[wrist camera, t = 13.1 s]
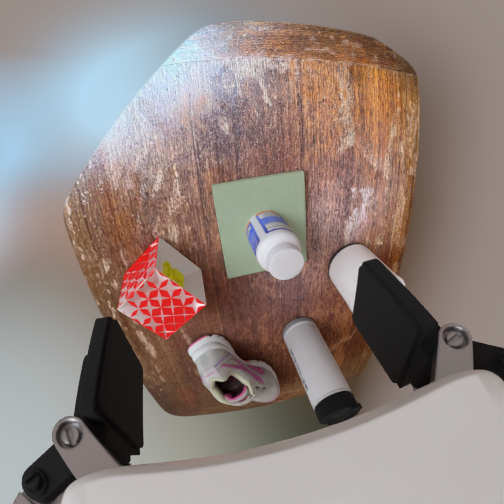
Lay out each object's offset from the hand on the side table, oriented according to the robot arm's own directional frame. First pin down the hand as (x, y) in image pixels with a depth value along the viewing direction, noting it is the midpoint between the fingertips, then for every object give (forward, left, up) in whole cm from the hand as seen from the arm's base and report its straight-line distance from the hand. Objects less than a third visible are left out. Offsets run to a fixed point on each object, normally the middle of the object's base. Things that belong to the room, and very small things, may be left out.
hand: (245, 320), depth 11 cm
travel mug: (+33, +12, -28) cm, 45 cm away
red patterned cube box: (+15, -8, -28) cm, 33 cm away
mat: (+11, +7, -28) cm, 31 cm away
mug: (+22, +21, -28) cm, 42 cm away
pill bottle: (+11, +7, -28) cm, 31 cm away
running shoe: (+39, -1, -28) cm, 48 cm away
